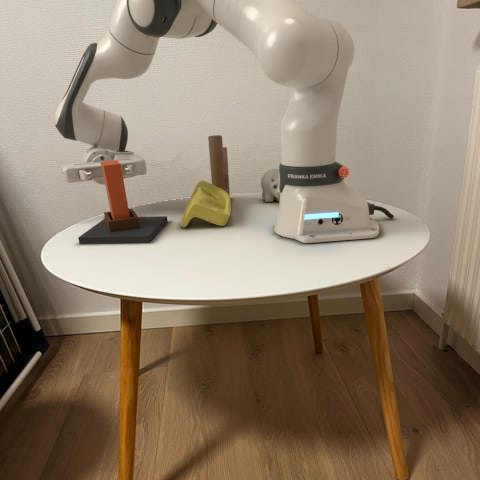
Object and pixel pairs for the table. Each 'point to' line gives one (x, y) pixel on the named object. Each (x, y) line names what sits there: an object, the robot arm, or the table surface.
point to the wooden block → (218, 163)
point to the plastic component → (208, 205)
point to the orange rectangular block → (115, 189)
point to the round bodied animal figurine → (270, 185)
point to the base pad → (124, 229)
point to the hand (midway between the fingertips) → (109, 174)
